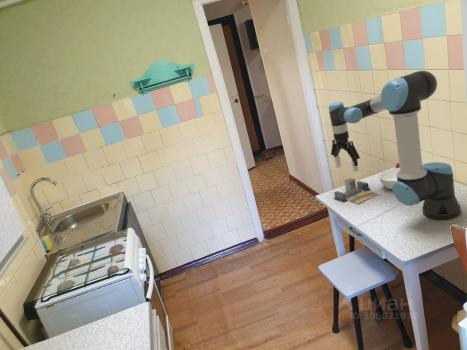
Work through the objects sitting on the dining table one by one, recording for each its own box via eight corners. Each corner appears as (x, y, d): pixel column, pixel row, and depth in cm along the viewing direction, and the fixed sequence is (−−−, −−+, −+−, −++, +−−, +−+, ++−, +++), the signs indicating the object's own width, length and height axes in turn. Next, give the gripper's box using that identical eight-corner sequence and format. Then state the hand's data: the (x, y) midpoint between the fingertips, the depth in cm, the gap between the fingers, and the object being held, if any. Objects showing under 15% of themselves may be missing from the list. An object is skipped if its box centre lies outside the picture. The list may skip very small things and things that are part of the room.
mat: (378, 194, 199) (378, 193, 198) (358, 204, 194) (358, 203, 194) (367, 191, 206) (367, 190, 206) (347, 201, 201) (347, 200, 201)
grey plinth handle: (370, 189, 207) (369, 183, 206) (343, 202, 201) (342, 195, 200) (360, 186, 214) (359, 180, 213) (334, 199, 208) (332, 192, 207)
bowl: (376, 185, 211) (374, 173, 209) (409, 177, 209) (407, 165, 207) (387, 196, 194) (385, 183, 192) (423, 188, 192) (422, 175, 190)
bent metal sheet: (361, 192, 207) (359, 177, 205) (347, 198, 204) (344, 183, 202) (356, 190, 211) (354, 175, 208) (342, 197, 208) (339, 182, 205)
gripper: (362, 131, 187) (369, 170, 194) (331, 128, 210) (337, 163, 216) (351, 136, 185) (358, 175, 191) (320, 132, 207) (327, 167, 214)
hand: (347, 169), depth 204 cm, fingers open, 13 cm apart
